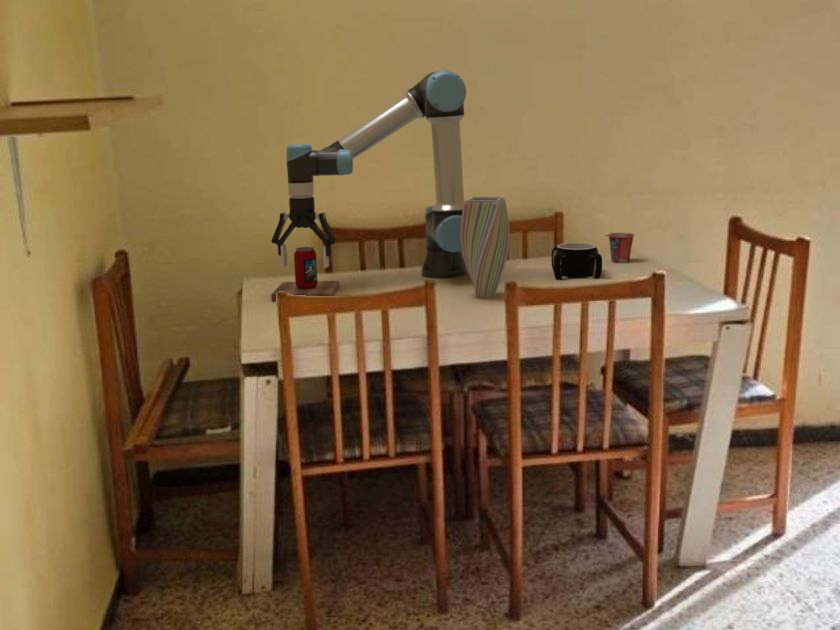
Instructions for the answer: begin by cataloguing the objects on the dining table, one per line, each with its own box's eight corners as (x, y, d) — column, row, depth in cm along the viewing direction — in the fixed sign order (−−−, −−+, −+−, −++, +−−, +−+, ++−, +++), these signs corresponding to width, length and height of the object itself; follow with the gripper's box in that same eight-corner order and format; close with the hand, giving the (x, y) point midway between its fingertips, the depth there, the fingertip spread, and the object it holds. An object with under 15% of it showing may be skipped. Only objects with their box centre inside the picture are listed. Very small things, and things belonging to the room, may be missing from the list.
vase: (511, 298, 263) (511, 195, 256) (505, 308, 250) (505, 201, 243) (466, 296, 266) (465, 195, 259) (458, 307, 253) (456, 201, 246)
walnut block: (339, 290, 283) (339, 280, 282) (331, 303, 265) (331, 293, 265) (283, 291, 284) (282, 281, 283) (271, 304, 266) (271, 294, 265)
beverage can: (313, 289, 270) (311, 250, 267) (292, 289, 271) (290, 250, 268) (320, 285, 276) (319, 246, 273) (300, 284, 278) (298, 246, 275)
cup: (616, 266, 306) (617, 231, 303) (638, 269, 300) (639, 234, 297) (600, 270, 300) (601, 235, 297) (621, 273, 294) (622, 237, 291)
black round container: (551, 277, 290) (552, 241, 287) (602, 278, 287) (603, 241, 284) (548, 288, 275) (548, 249, 272) (601, 289, 271) (602, 250, 269)
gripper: (344, 195, 268) (348, 265, 273) (267, 195, 273) (271, 263, 278) (337, 198, 261) (340, 269, 266) (257, 197, 266) (262, 268, 271)
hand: (305, 266), depth 272 cm, fingers open, 13 cm apart
